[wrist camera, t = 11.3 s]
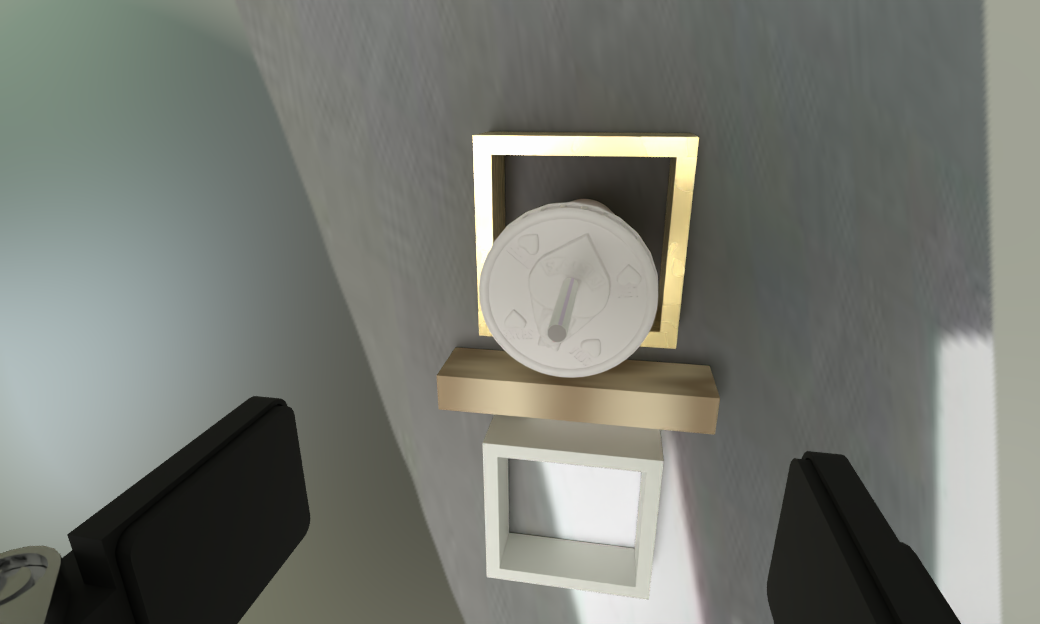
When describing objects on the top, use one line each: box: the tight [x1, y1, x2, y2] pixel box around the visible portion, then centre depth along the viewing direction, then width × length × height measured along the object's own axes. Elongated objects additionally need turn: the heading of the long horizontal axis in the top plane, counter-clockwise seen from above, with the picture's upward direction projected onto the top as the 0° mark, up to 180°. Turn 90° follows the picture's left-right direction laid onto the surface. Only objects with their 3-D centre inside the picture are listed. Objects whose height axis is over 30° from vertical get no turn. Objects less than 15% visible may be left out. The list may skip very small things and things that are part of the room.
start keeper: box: [483, 414, 664, 600], centre depth 32 cm, size 10×10×3 cm
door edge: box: [437, 347, 720, 434], centre depth 29 cm, size 14×2×4 cm, turn 90°
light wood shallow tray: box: [473, 132, 699, 349], centre depth 27 cm, size 10×10×3 cm
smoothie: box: [479, 199, 658, 378], centre depth 22 cm, size 6×6×14 cm
